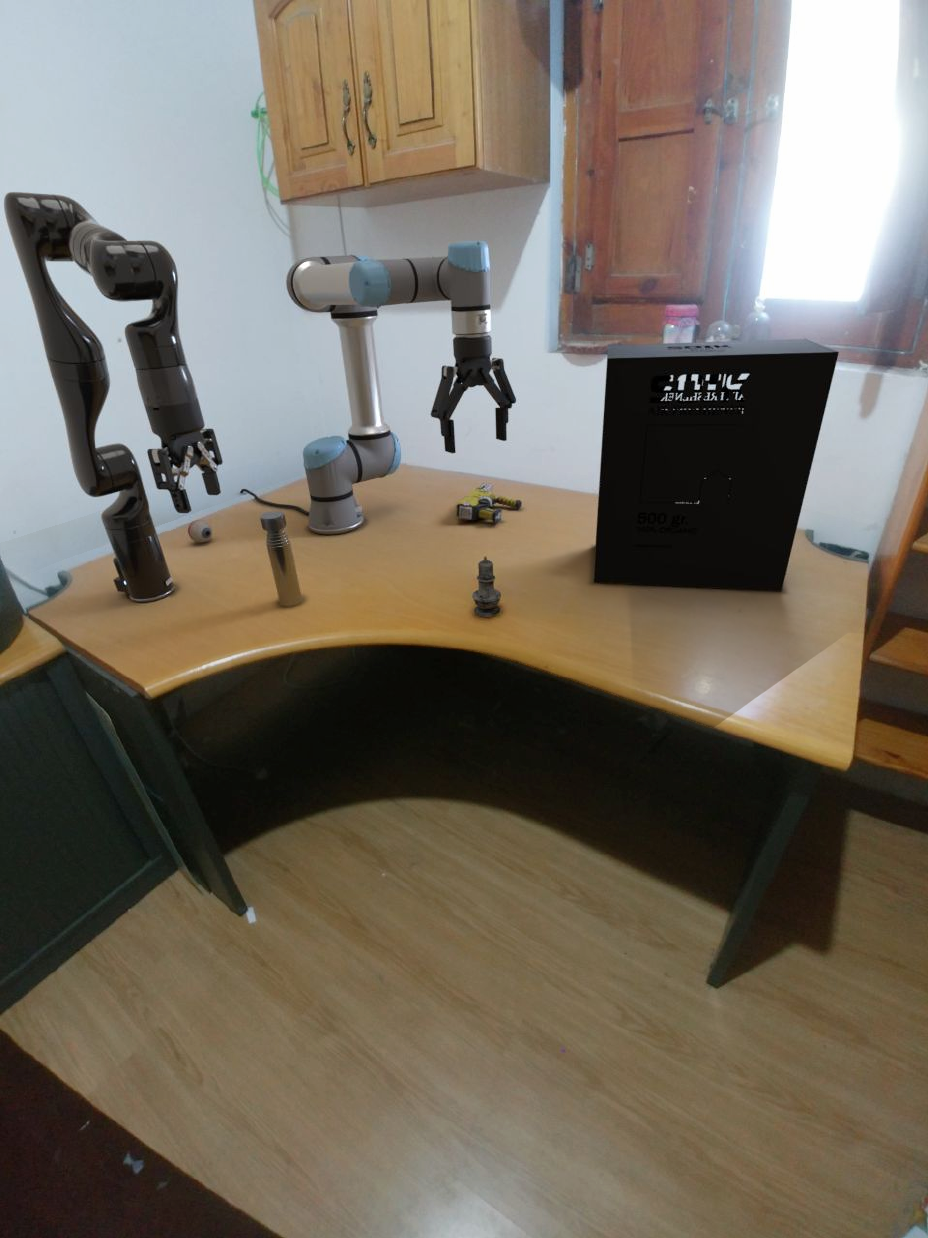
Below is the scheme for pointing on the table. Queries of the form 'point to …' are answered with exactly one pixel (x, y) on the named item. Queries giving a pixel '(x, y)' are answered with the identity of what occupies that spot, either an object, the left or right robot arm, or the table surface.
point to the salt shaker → (486, 591)
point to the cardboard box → (707, 461)
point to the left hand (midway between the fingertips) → (200, 503)
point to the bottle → (283, 567)
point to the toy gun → (483, 505)
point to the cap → (273, 520)
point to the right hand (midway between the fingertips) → (476, 445)
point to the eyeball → (200, 531)
